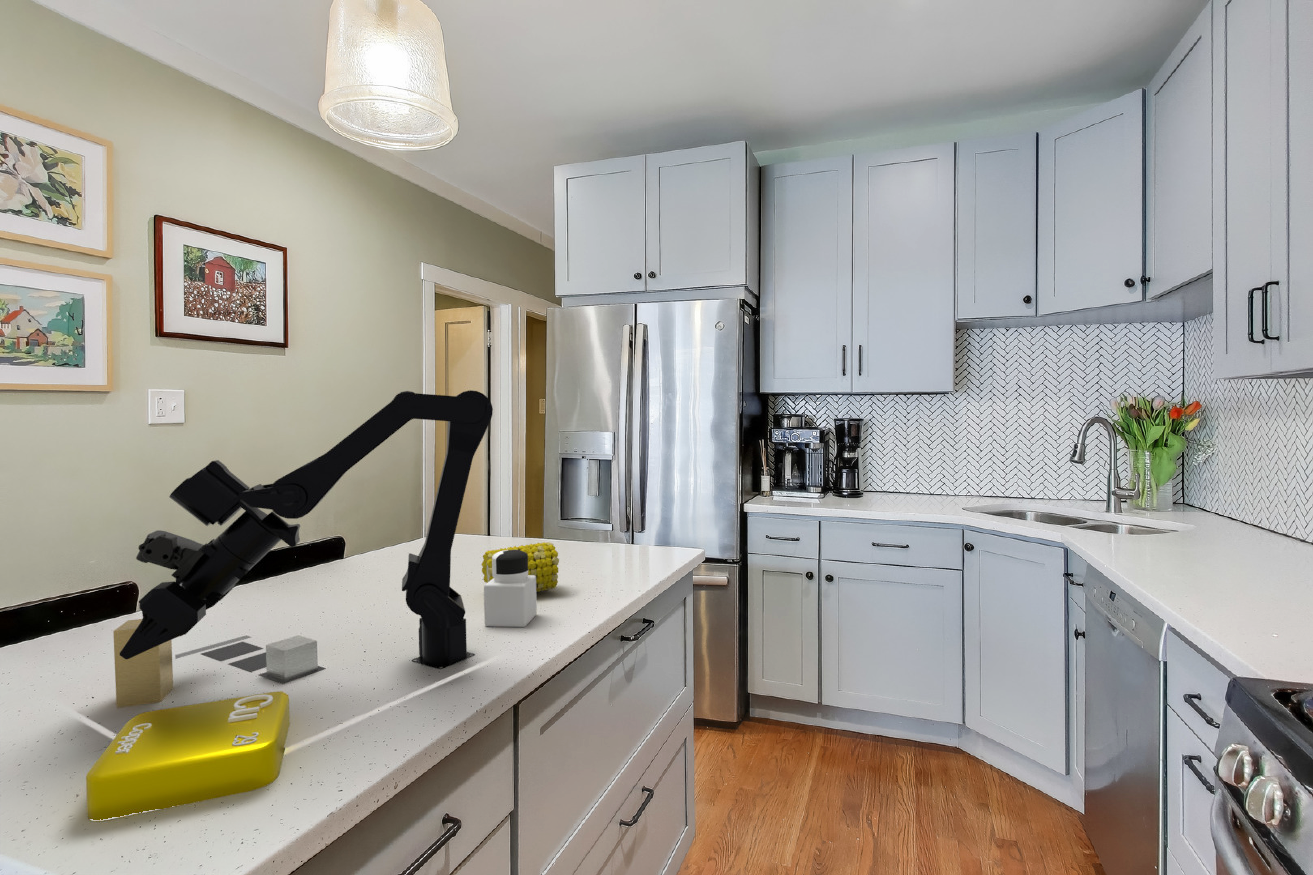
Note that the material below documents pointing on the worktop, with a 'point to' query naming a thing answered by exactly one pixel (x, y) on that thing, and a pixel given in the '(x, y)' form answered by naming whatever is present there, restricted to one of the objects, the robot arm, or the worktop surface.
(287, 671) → the zinc block
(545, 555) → the food
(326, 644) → the worktop surface
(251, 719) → the element tile
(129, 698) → the tan wooden block
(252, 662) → the grey slotted plate
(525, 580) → the medicine bottle
